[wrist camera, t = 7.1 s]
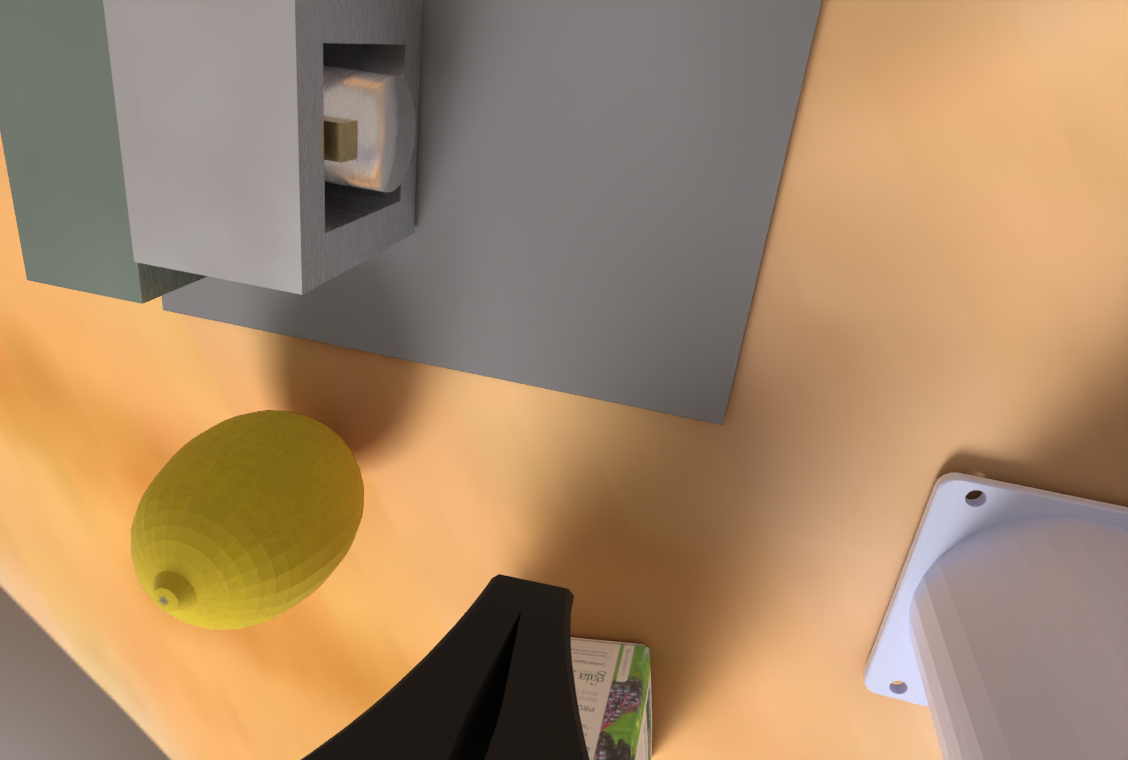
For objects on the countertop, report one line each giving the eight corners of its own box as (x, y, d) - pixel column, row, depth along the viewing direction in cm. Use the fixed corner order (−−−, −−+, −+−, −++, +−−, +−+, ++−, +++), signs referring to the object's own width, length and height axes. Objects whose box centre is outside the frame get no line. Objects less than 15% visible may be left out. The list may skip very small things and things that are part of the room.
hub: (422, -4, 19) (294, -25, 14) (413, 233, 22) (302, 294, 16) (275, -23, 20) (97, -50, 14) (283, 210, 22) (134, 261, 17)
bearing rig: (451, -44, 19) (321, -86, 13) (435, 266, 22) (326, 341, 17) (147, -81, 20) (-92, -133, 15) (174, 218, 24) (-10, 272, 18)
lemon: (253, 352, 25) (54, 475, 18) (412, 399, 24) (272, 546, 17) (249, 491, 27) (71, 649, 20) (393, 538, 27) (263, 717, 19)
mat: (857, -155, 16) (858, -158, 16) (722, 420, 22) (722, 425, 22) (116, -222, 19) (107, -226, 19) (169, 307, 25) (163, 310, 25)
